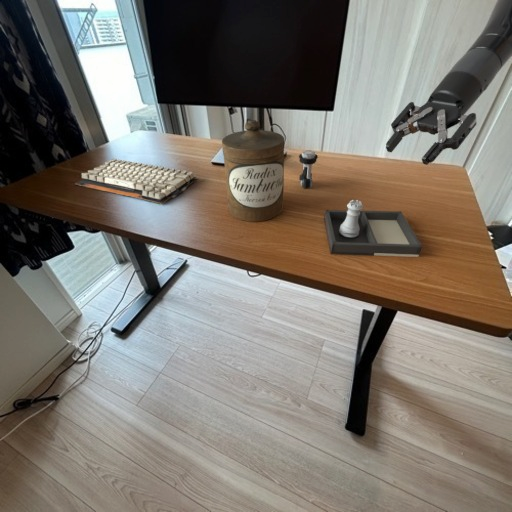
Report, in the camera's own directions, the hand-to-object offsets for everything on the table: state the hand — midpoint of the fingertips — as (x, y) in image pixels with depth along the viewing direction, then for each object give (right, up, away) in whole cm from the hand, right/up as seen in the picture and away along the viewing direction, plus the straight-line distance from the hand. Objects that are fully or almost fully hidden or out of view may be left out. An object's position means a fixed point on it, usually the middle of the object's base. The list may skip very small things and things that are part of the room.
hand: (405, 155), depth 55 cm
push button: (-16, +2, +29) cm, 33 cm away
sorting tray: (-5, -16, +7) cm, 18 cm away
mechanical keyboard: (-70, +3, +33) cm, 78 cm away
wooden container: (-31, -8, +18) cm, 37 cm away
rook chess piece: (-9, -16, +7) cm, 19 cm away
